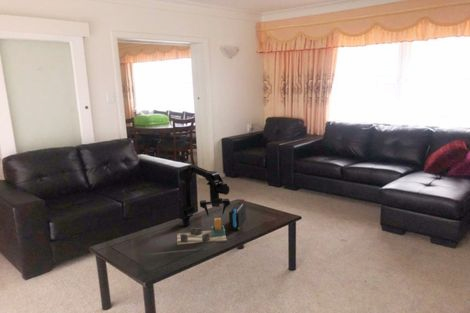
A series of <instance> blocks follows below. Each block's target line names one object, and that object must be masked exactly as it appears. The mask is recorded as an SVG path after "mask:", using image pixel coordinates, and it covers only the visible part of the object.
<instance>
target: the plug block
mask: <svg viewBox="0 0 470 313" xmlns="http://www.w3.org/2000/svg"><path fill="white" fill-rule="evenodd" d="M214 226H215V230H222V228H221V226H222V218H221V217H215V218H214Z"/></svg>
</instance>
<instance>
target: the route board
mask: <svg viewBox="0 0 470 313" xmlns="http://www.w3.org/2000/svg"><path fill="white" fill-rule="evenodd" d="M221 228H222V230H215V225H214V226H212V225H211V230H203V228H202V227H198V228H197V227H190V232H183V233H180V232H179V233H177V234H176V236H177V238H176V239H177V240H176V244H177V245H187V244H196V243H206V242H207V243H208V242H215V243H222V242H227V241H228V239H227V236H226V228H225V226H224V225H223V224H222V225H221Z"/></svg>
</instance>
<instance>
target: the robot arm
mask: <svg viewBox="0 0 470 313" xmlns="http://www.w3.org/2000/svg"><path fill="white" fill-rule="evenodd" d="M194 174H196V175H198V176H200V177H203V178H204V180H206V181H207V183H206V185H207V186H209V201H207V200H205V199H204V200H199V207H200V208H202V209H204V210H205V213H206V215H207V217H209V211H208V206H210V205H211V208H219V207H220V205H222V208H221V214H222V216H224V213H225V210H226V208H228V206H230V205H231V201H230V199H229V198H222V197H220V194H221V195H225V196H228V194H229V192H230V187H229V185H228V183H226V182H224V180H223V178H222V176H221V175H220V173H219V172H218V171H215V170H208V169H205V168H202V167H200V166H197V165H196V164H192V165H189V166H188V167H187V168H184V169H183V170H180V172H179V173H178V177H179V181H180V182H181V183H182V184H181V185H182V200H183V201H182V203H183V204H182V205H181V208H180V209H181V210H180V213H179V214H178V216H177V217H178V219H180V220H181V226H182V227H185V228H187V227H190V226H191V225H192V223H191V217H193V215H194V213H195V205H193V204H192V201H191V200H192V199H191V181H192V179H193V178H192V177H193V175H194Z"/></svg>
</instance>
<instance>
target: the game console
mask: <svg viewBox="0 0 470 313" xmlns="http://www.w3.org/2000/svg"><path fill="white" fill-rule="evenodd" d="M246 207H247V205H246V201H245V199H244V198H242V199H240V202H236V203H235V204H234V205H233V207H232V208H231V209H230V210H229V211H228V216H229V217H228V219H229V230H235V231H236V230H237V231H240V230H241V228H242V226H243V225H244V223H245V222H246V220H247V208H246Z"/></svg>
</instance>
